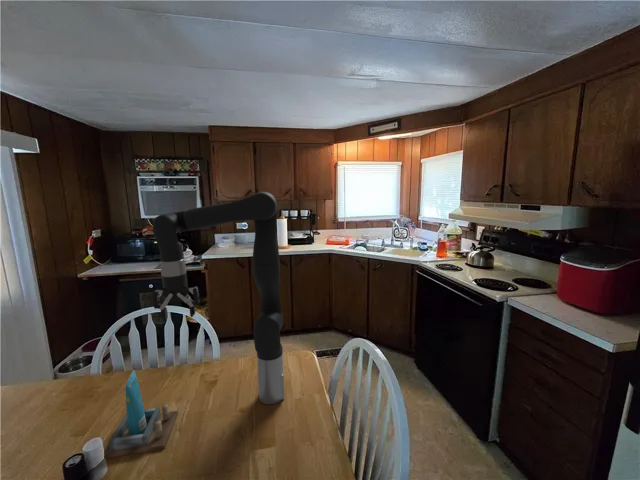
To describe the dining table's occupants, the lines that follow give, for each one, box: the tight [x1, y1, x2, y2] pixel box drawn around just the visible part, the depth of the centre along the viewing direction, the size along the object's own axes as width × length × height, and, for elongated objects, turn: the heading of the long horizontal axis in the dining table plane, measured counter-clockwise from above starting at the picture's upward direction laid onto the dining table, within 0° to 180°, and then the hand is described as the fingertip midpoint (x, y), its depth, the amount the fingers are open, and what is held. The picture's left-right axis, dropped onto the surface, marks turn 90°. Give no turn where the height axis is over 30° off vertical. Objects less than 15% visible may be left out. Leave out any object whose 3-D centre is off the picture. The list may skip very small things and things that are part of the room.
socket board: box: [104, 403, 179, 459], centre depth 92 cm, size 16×14×6 cm
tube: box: [125, 369, 147, 436], centre depth 90 cm, size 7×5×19 cm, turn 23°
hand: (179, 317), depth 102 cm, fingers open, 8 cm apart
